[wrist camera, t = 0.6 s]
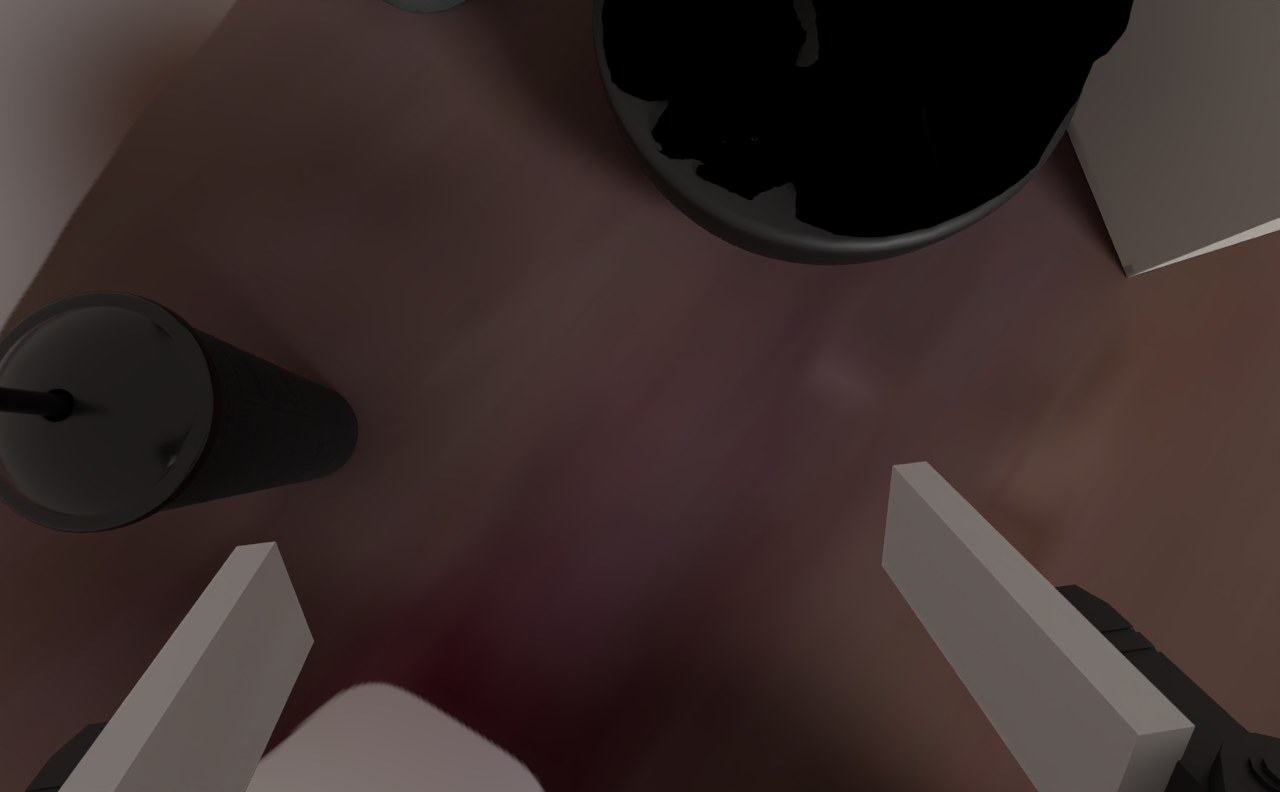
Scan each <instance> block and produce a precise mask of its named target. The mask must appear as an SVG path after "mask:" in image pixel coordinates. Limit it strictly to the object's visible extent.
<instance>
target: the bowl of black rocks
mask: <svg viewBox="0 0 1280 792" xmlns="http://www.w3.org/2000/svg"><path fill="white" fill-rule="evenodd" d="M1133 2H1134V0H593V20H592V24H593V37H594V47H595V53H596V58H597V63H598V69H599V73H600V77H601V81H602V84H603V87H604V91H605V94H606V97H607V101H608V104H609V107H610V109H611V111H612V114H613V116H614V119H615V121H616V123H617V126H618V128H619V130H620V133H621V135H622V136H623V138H624V140H625V142H626V144H627V146H628V148H629V149H630V151H631V153H632V154H633V156H634V157H635V159H636V160H637V162H638V163H639V165H640V166H641V168H642V169H643V170H644V172H645V173H646V175H647V176H648V178H649V179H650V180H651V181H652V182H653V184H654V185H655V186H656V187H657V188H658V189H659V191H660V192H661V193H662V194H663V195H664V196H665V197H666V198H667V199H668V200H669V201H670V202H671V203H672V204H673V205H674V206H675V207H676V208H678V209H679V210H680V211H681V212H683V213H684V214H685V215H686V216H687V217H689V218H690V219H691V220H692V221H694V222H695V223H696V224H698V225H699V226H701V227H702V228H704V229H705V230H707V231H708V232H710V233H711V234H713V235H715V236H717V237H719V238H721V239H722V240H724V241H726V242H728V243H730V244H732V245H735V246H737V247H739V248H742V249H744V250H747V251H749V252H752V253H755V254H759V255H762V256H765V257H768V258H773V259H778V260H782V261H787V262H794V263H803V264H812V265H846V264H858V263H865V262H871V261H876V260H882V259H888V258H892V257H895V256H899V255H903V254H906V253H910V252H913V251H916V250H919V249H921V248H924V247H926V246H929V245H931V244H934V243H937V242H939V241H942V240H944V239H946V238H948V237H950V236H952V235H954V234H956V233H958V232H960V231H962V230H964V229H966V228H968V227H969V226H971V225H973V224H975V223H976V222H978V221H980V220H981V219H983V218H984V217H986V216H987V215H989V214H990V213H992V212H994V211H995V210H997V209H998V208H999V207H1000V206H1002V205H1003V204H1004V203H1005V202H1007V201H1008V200H1009V199H1010V198H1012V197H1013V196H1014V195H1015V194H1017V193H1018V192H1019V191H1020V190H1021V189H1022V188H1023V187H1024V186H1025V185H1026V184H1027V183H1028V182H1029V181H1030V180H1031V179H1032V178H1033V176H1034V175H1035V174H1036V173H1037V172H1038V170H1039V169H1040V168H1041V167H1042V165H1043V164H1044V163H1045V162H1046V161H1047V159H1048V158H1049V156H1050V155H1051V153H1052V152H1053V150H1054V149H1055V147H1056V146H1057V144H1058V142H1059V141H1060V139H1061V138H1062V136H1063V135H1064V133H1065V131H1066V129H1067V127H1068V125H1069V123H1070V121H1071V119H1072V117H1073V115H1074V112H1075V110H1076V107H1077V104H1078V102H1079V99H1080V97H1081V94H1082V90H1083V86H1084V84H1085V82H1086V79H1087V77H1088V75H1089V73H1090V71H1091V68H1092V66H1093V63H1094V62H1095V61H1096V60H1098V59H1099V58H1100V57H1102V56H1103V55H1106V54H1107V53H1108V52H1109V51H1110V49H1111V48H1112V46H1113V45H1114V44H1115V43H1116V42H1117V41H1118V40H1119V38H1120V37H1121V36H1122V35H1123V33H1124V32H1125V30H1126V28H1127V26H1128V22H1129V19H1130V12H1131V9H1132V5H1133Z"/></svg>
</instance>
